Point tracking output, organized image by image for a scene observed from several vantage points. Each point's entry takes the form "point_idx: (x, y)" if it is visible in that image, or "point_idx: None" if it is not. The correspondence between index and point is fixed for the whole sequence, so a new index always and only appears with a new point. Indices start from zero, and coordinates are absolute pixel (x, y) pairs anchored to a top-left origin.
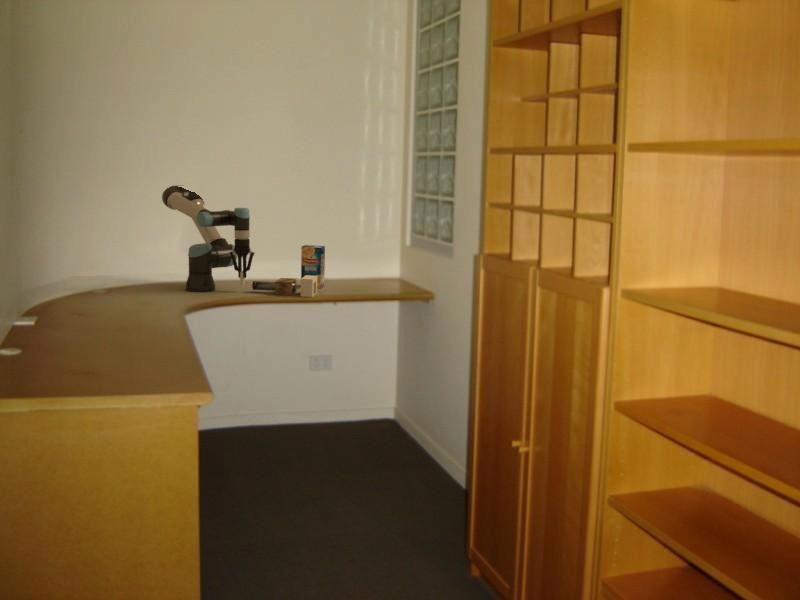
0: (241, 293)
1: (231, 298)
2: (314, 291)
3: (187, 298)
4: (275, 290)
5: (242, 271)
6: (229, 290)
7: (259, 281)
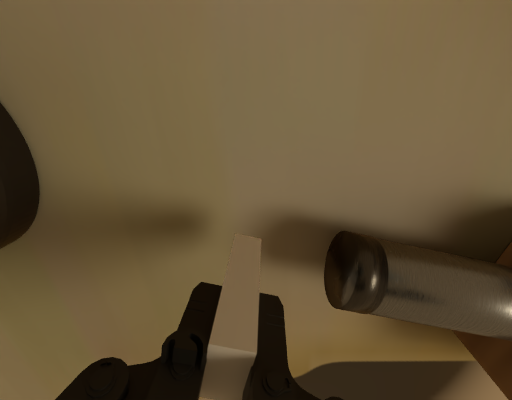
0: None
1: None
2: None
3: (25, 387)
4: (471, 352)
5: (225, 360)
6: (147, 177)
7: (408, 309)
